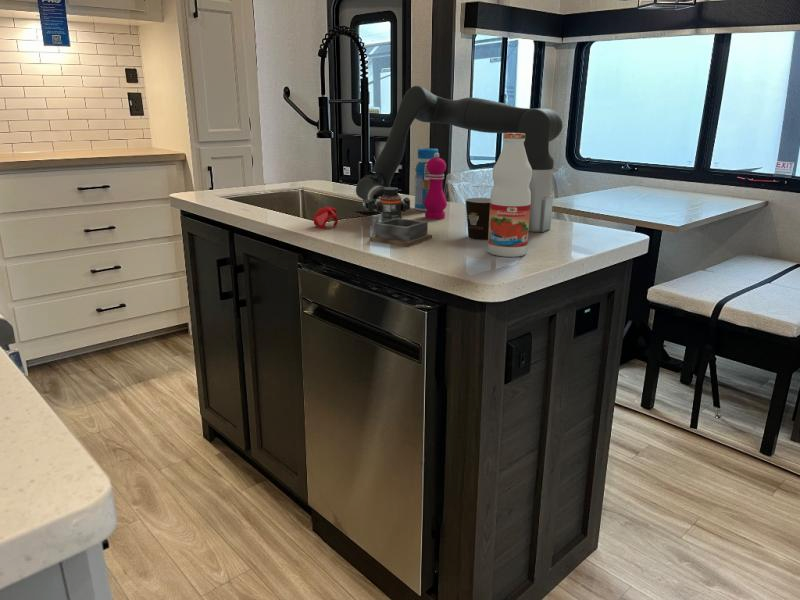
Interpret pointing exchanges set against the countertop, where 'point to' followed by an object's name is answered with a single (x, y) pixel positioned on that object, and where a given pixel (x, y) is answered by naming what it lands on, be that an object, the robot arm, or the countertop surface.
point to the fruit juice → (510, 199)
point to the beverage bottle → (422, 176)
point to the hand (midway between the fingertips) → (392, 208)
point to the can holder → (401, 232)
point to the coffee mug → (478, 218)
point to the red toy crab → (325, 216)
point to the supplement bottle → (390, 204)
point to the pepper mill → (435, 189)
